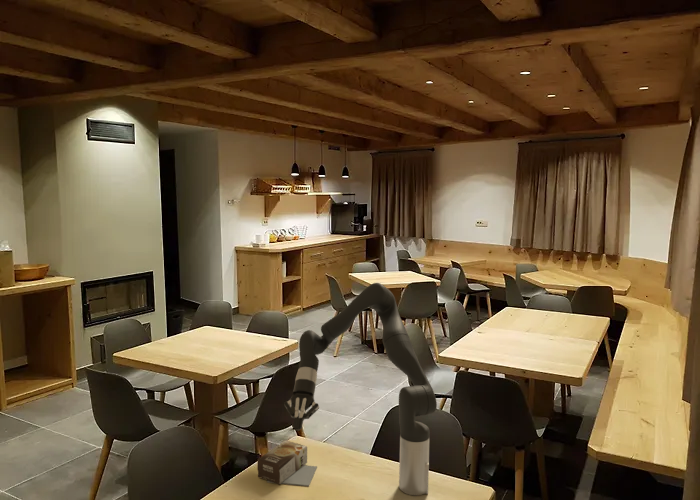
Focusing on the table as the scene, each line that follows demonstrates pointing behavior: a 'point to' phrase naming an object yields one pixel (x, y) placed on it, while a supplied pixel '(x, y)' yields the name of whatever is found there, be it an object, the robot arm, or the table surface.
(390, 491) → the table surface
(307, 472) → the rubber mat
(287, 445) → the coffee box
